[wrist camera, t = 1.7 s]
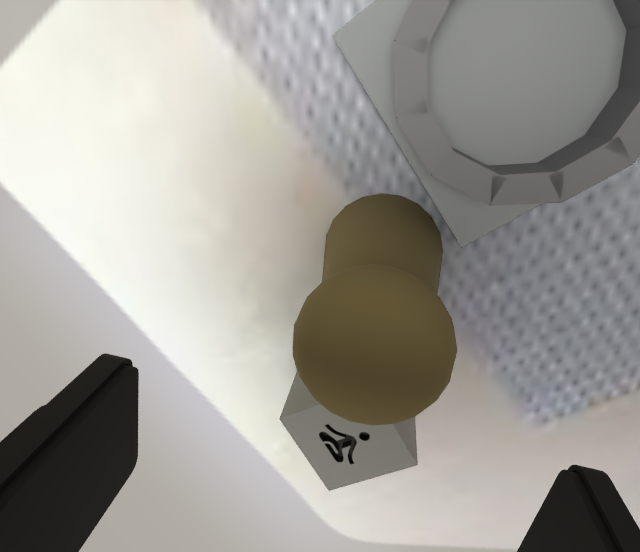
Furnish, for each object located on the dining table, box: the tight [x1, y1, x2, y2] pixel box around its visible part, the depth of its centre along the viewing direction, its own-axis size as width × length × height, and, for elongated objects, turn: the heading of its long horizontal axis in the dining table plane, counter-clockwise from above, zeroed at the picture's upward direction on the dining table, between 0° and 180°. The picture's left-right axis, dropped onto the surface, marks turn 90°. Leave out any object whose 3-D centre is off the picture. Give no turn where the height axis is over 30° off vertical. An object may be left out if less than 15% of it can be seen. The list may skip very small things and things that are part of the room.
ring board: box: [333, 0, 640, 248], centre depth 17 cm, size 11×11×4 cm
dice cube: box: [280, 371, 417, 491], centre depth 24 cm, size 5×5×5 cm
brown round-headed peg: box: [293, 194, 457, 426], centre depth 18 cm, size 6×6×11 cm
